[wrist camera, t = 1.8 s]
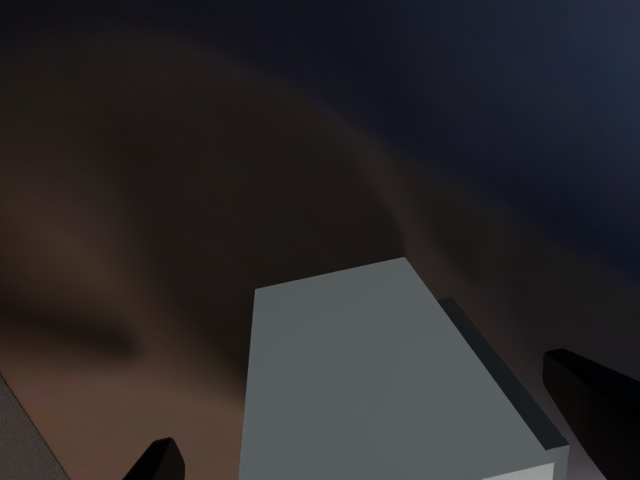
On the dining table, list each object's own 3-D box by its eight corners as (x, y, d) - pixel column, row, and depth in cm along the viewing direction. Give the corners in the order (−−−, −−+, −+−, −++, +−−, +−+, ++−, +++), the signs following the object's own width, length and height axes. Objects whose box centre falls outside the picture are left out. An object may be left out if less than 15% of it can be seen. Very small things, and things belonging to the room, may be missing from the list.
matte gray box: (255, 288, 10) (233, 536, 5) (426, 251, 10) (600, 451, 5) (294, 425, 12) (311, 713, 7) (437, 393, 12) (570, 648, 7)
